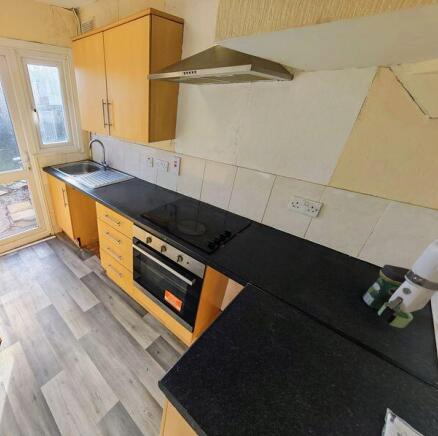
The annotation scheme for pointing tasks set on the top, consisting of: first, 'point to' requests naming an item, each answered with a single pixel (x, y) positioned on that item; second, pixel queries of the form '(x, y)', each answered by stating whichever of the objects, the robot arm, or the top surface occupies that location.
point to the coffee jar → (385, 286)
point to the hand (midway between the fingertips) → (392, 317)
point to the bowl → (398, 317)
